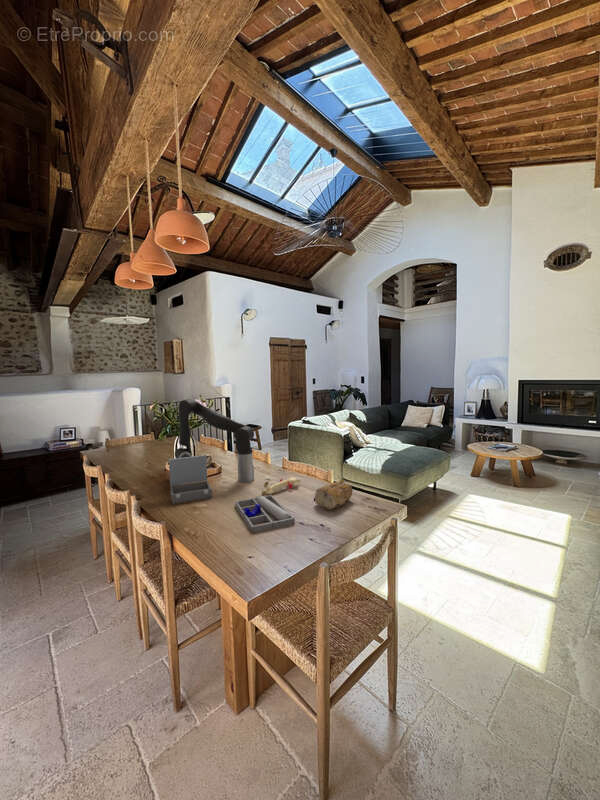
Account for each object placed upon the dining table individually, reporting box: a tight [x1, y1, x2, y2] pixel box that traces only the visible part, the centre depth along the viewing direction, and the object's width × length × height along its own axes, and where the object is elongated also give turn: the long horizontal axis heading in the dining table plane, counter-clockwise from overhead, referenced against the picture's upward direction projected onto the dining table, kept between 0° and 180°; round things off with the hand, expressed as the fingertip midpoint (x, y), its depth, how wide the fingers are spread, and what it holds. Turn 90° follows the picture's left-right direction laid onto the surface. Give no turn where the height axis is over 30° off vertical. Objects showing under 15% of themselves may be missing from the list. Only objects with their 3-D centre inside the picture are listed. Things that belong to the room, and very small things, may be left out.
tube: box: [256, 495, 291, 521], centre depth 164 cm, size 5×5×25 cm
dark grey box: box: [169, 480, 213, 505], centre depth 187 cm, size 20×15×5 cm
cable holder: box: [244, 504, 262, 518], centre depth 161 cm, size 8×4×4 cm, turn 134°
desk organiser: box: [234, 494, 296, 533], centre depth 163 cm, size 19×31×2 cm, turn 24°
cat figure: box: [261, 476, 301, 496], centre depth 195 cm, size 10×9×25 cm
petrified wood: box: [313, 480, 354, 511], centre depth 174 cm, size 19×13×10 cm
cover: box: [168, 454, 208, 487], centre depth 192 cm, size 20×15×1 cm
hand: (188, 466), depth 193 cm, fingers closed
